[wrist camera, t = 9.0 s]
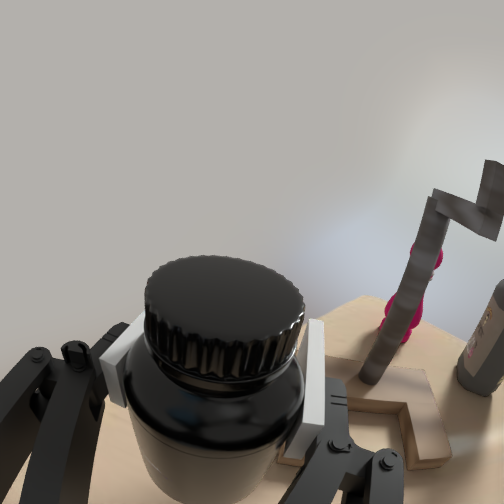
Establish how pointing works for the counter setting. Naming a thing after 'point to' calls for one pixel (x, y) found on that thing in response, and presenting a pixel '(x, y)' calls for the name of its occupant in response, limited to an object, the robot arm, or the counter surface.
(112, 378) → the robot arm
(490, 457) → the counter surface
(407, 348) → the counter surface
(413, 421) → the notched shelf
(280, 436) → the supplement bottle
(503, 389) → the counter surface
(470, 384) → the liquor
